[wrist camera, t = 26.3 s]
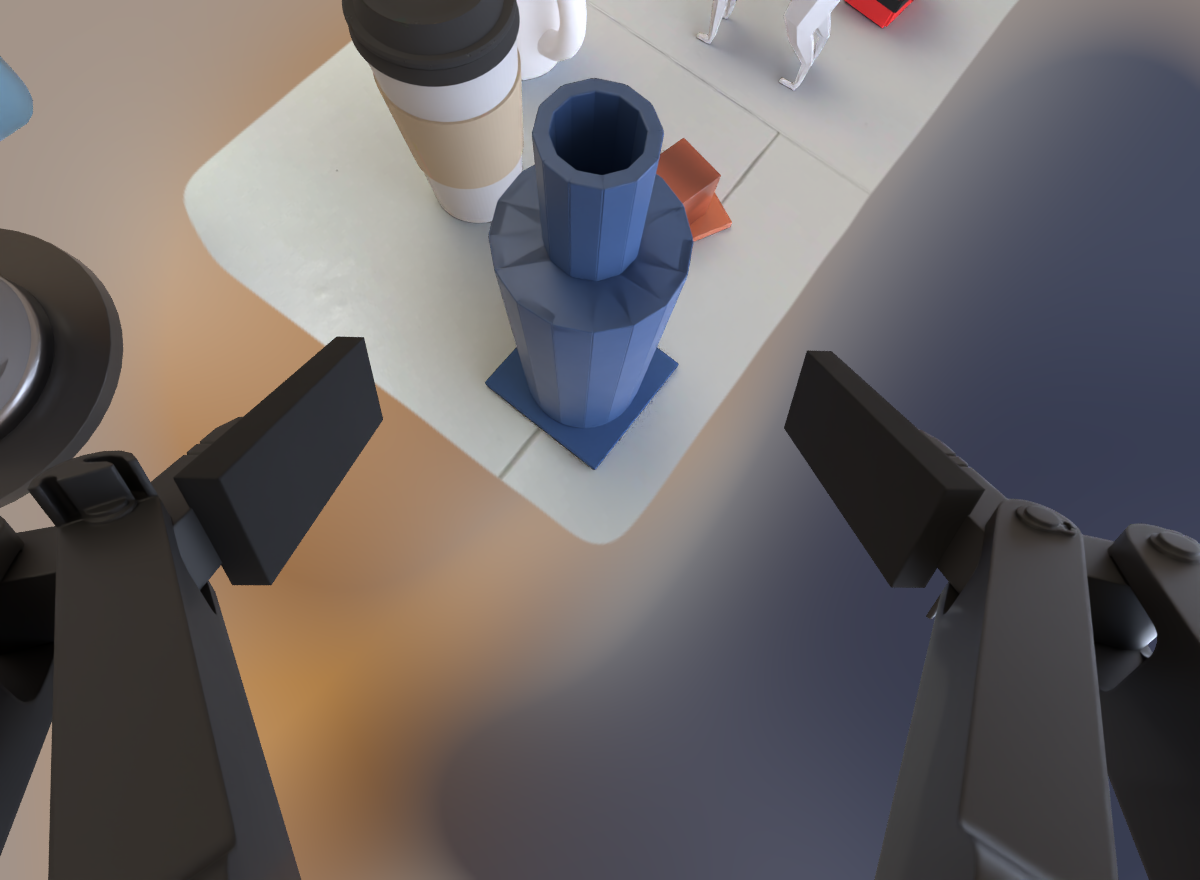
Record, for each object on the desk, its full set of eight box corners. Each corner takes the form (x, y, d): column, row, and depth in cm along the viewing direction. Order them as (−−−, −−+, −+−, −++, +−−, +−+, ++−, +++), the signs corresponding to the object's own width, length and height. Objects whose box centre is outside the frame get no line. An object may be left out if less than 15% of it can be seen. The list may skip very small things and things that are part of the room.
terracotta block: (668, 240, 37) (680, 205, 33) (635, 205, 38) (642, 166, 34) (706, 212, 38) (721, 175, 34) (672, 178, 38) (683, 137, 35)
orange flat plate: (641, 263, 37) (642, 258, 37) (608, 200, 38) (608, 195, 38) (730, 227, 38) (732, 222, 38) (695, 167, 39) (697, 162, 39)
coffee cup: (547, 224, 38) (531, 23, 23) (431, 246, 37) (338, 49, 22) (523, 128, 39) (494, -117, 25) (411, 146, 38) (312, -97, 24)
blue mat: (594, 470, 34) (594, 469, 33) (485, 385, 35) (484, 382, 34) (677, 366, 36) (679, 363, 35) (572, 287, 37) (572, 283, 36)
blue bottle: (516, 416, 34) (429, 222, 13) (540, 313, 35) (495, -1, 15) (628, 438, 34) (713, 279, 13) (647, 334, 36) (747, 52, 15)
